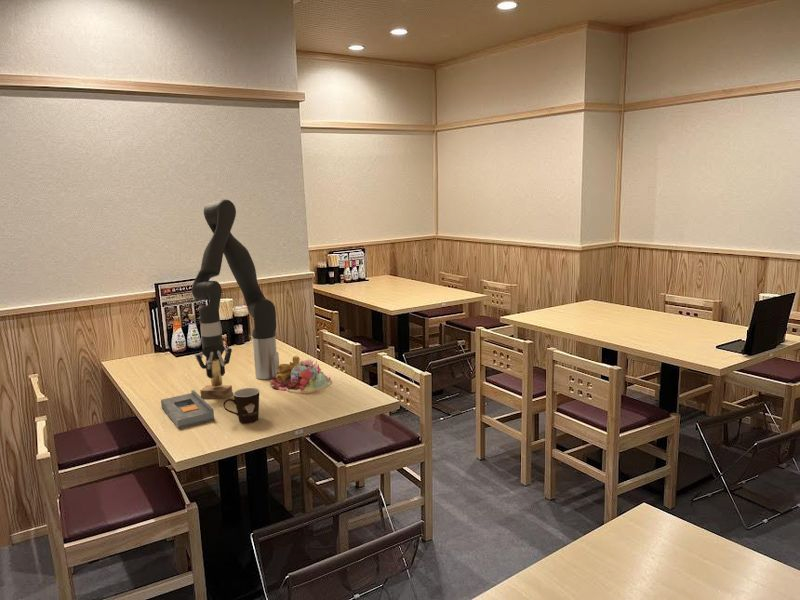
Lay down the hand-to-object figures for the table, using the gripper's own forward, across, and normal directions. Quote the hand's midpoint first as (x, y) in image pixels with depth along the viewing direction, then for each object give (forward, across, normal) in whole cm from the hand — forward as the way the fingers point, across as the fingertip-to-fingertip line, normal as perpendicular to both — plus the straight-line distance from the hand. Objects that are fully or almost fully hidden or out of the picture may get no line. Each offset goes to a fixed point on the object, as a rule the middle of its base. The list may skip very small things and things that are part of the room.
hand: (216, 376), depth 230 cm
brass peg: (+3, 0, 0) cm, 3 cm away
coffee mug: (+8, +1, +30) cm, 31 cm away
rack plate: (+8, +15, +11) cm, 20 cm away
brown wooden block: (+8, 0, 0) cm, 8 cm away
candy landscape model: (+9, -32, +7) cm, 34 cm away
